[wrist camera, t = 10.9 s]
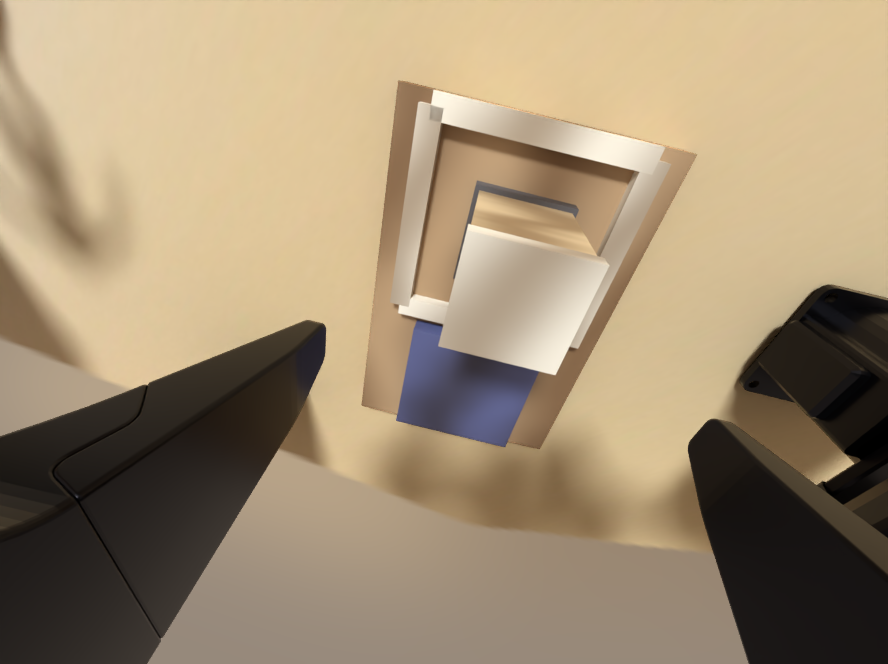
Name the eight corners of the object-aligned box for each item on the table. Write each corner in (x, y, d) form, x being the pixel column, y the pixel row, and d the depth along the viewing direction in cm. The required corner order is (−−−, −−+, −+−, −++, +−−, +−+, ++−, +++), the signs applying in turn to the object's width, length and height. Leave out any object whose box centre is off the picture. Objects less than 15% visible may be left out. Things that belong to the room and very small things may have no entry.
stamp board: (684, 150, 16) (709, 158, 14) (538, 435, 25) (541, 461, 24) (405, 81, 16) (391, 79, 14) (367, 393, 25) (356, 416, 24)
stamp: (575, 204, 16) (614, 263, 11) (540, 293, 19) (557, 378, 13) (476, 180, 16) (464, 225, 11) (454, 271, 19) (434, 347, 13)
